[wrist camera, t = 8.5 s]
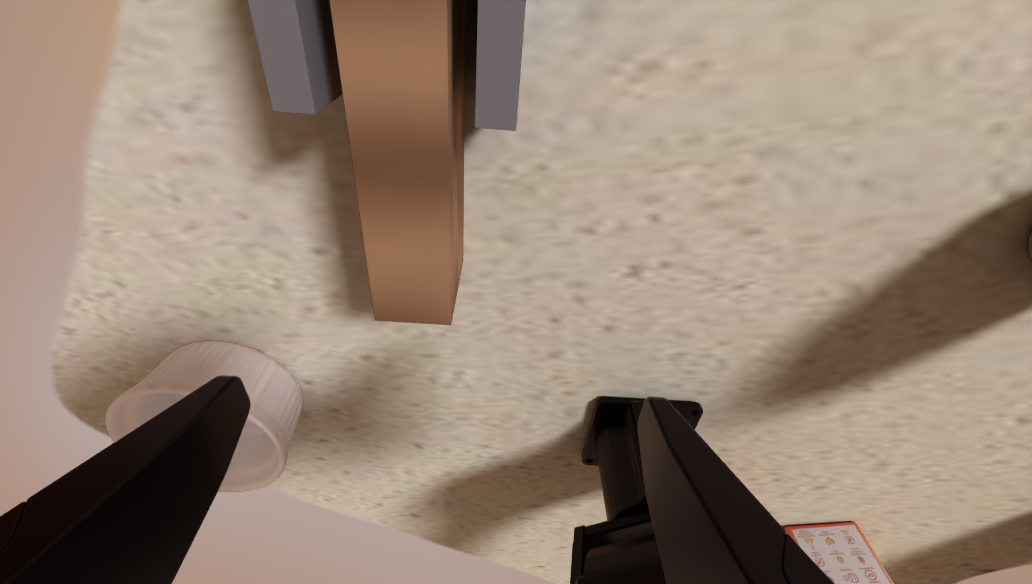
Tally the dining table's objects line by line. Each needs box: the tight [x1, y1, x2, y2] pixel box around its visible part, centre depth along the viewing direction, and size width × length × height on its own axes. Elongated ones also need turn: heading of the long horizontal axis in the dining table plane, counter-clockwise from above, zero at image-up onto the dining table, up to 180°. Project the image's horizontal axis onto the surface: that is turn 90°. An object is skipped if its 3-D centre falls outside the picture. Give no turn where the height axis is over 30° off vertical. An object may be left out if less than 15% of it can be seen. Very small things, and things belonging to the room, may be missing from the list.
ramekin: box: [105, 341, 303, 492], centre depth 26 cm, size 9×9×4 cm
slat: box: [330, 0, 465, 325], centre depth 16 cm, size 12×3×5 cm, turn 176°
